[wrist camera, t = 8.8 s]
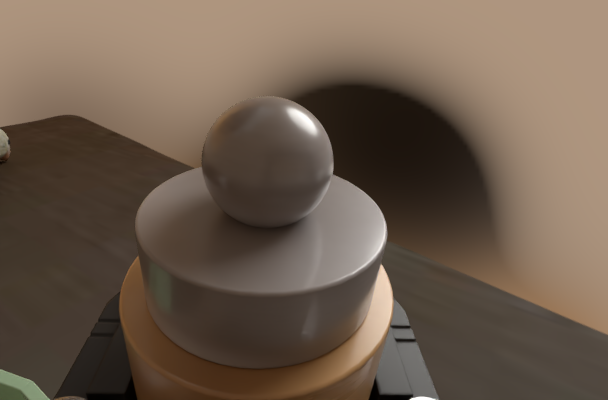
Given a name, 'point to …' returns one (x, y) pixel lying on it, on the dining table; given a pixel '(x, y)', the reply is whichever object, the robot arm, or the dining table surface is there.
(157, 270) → the pepper mill
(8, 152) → the decorative bird
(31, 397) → the serving bowl
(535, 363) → the dining table surface
